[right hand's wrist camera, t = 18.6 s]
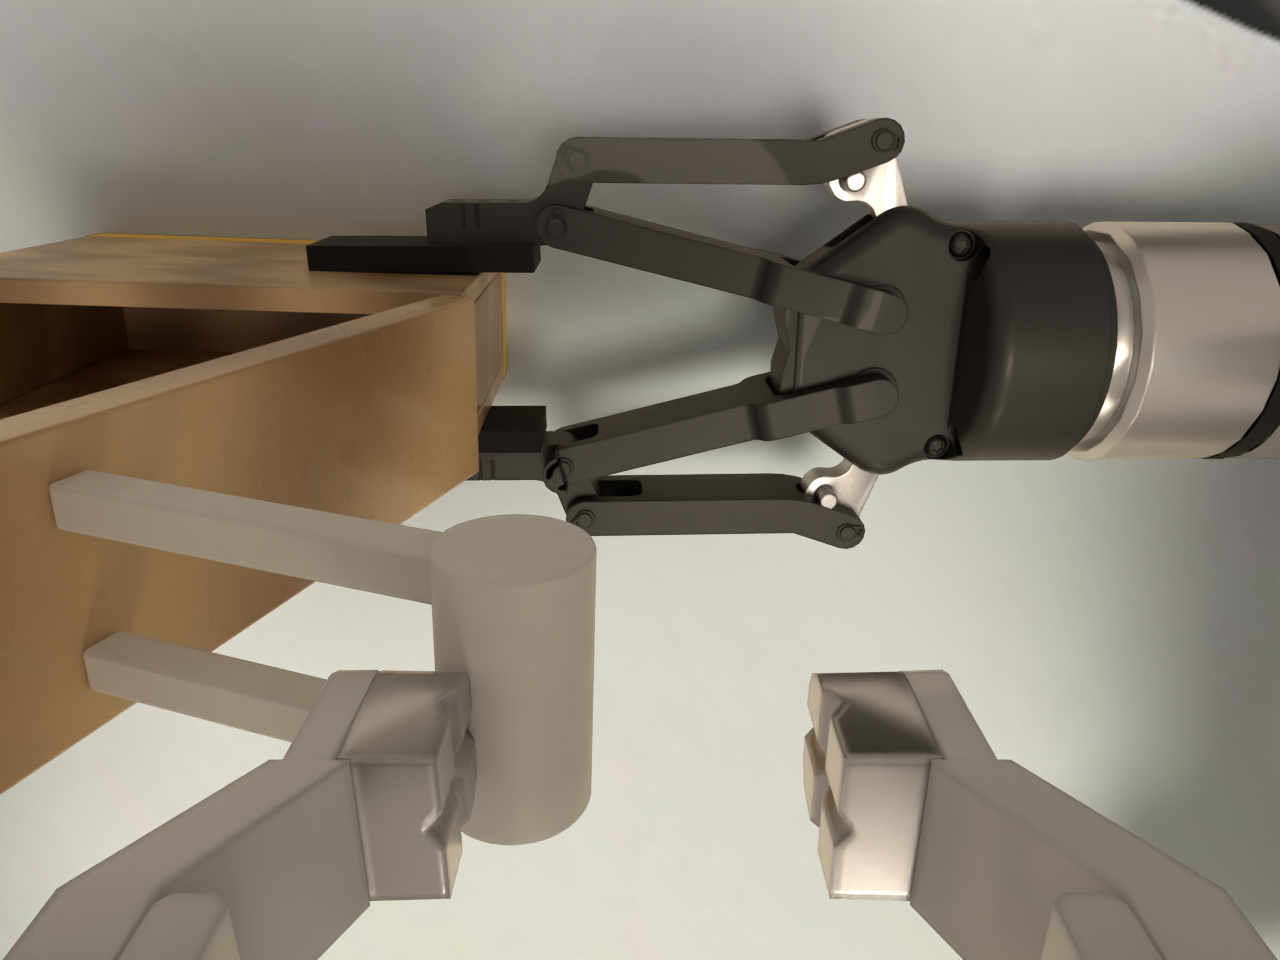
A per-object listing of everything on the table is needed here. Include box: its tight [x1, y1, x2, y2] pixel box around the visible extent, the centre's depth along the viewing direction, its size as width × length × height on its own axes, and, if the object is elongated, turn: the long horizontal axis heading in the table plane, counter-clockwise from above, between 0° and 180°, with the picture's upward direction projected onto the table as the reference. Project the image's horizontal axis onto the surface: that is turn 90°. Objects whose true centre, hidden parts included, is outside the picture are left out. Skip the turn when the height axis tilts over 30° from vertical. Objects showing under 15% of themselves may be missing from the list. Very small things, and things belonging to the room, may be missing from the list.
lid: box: [0, 295, 596, 845], centre depth 16 cm, size 15×5×9 cm
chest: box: [0, 233, 507, 434], centre depth 29 cm, size 15×5×10 cm, turn 88°
